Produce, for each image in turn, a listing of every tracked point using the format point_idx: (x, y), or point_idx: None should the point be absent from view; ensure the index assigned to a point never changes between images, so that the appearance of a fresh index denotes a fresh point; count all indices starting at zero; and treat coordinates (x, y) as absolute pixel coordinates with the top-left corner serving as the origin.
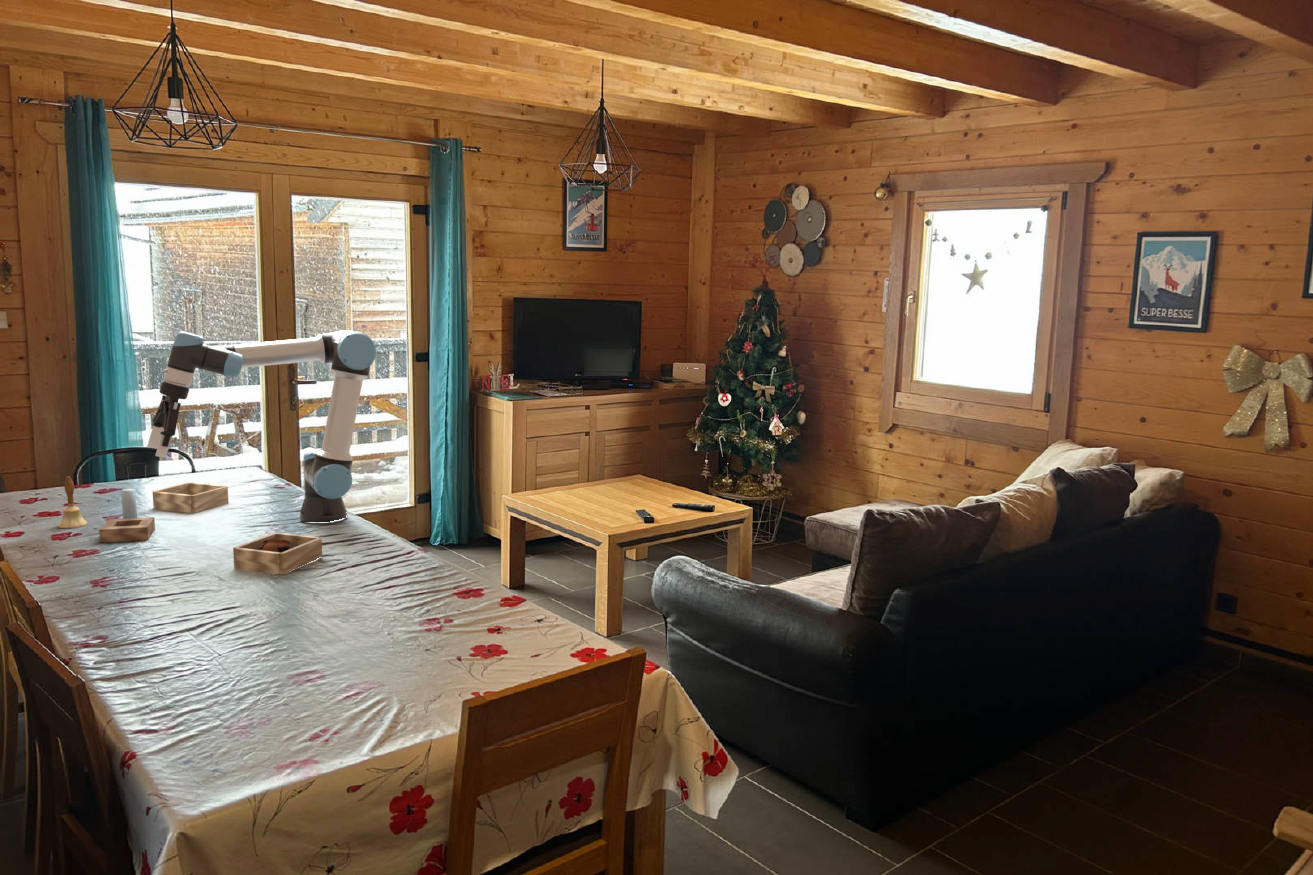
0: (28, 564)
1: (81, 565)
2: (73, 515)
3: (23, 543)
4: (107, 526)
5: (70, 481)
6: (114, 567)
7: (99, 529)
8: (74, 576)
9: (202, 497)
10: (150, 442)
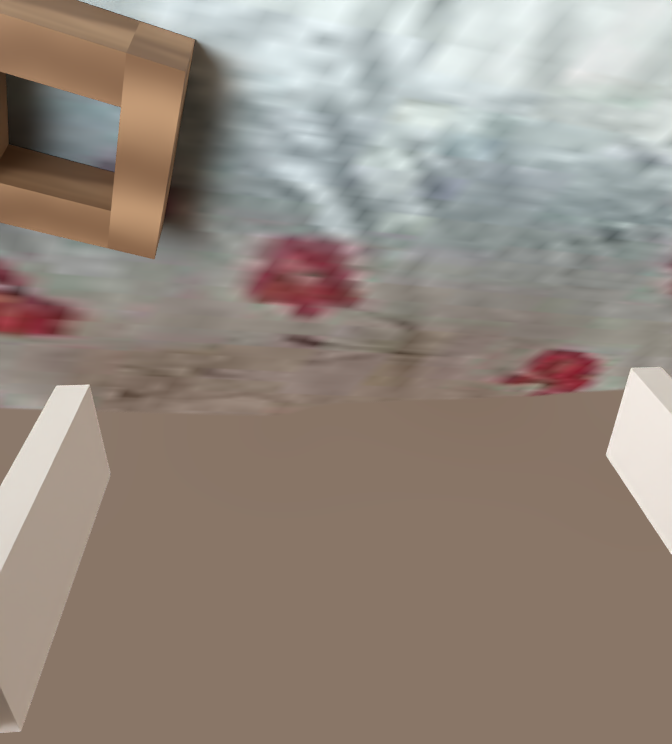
0: (358, 393)
1: (471, 299)
2: None
3: None
4: (99, 226)
5: None
6: (581, 225)
7: (150, 257)
8: (586, 323)
9: None
10: (91, 504)
